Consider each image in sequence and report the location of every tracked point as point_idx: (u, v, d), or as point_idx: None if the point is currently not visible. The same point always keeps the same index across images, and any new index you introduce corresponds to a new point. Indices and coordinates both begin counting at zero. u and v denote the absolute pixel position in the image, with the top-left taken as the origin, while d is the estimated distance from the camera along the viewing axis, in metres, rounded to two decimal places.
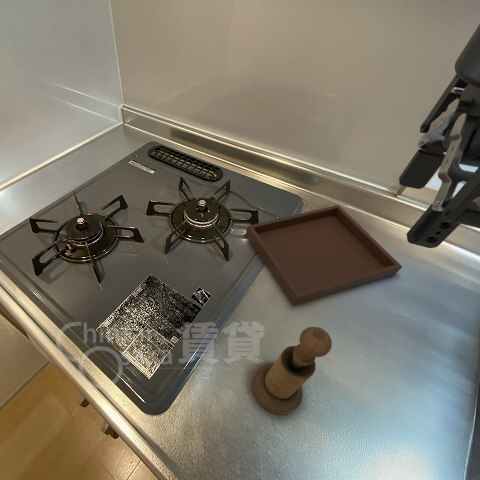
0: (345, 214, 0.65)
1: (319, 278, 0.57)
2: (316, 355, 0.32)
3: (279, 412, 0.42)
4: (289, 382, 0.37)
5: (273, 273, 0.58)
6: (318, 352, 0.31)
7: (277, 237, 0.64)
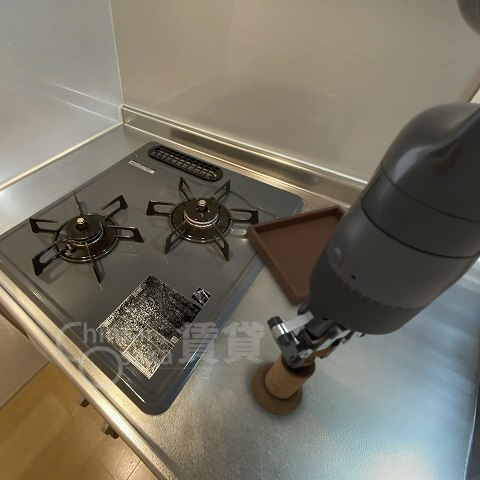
0: None
1: None
2: (316, 355, 0.32)
3: (279, 412, 0.42)
4: (289, 382, 0.37)
5: (273, 273, 0.58)
6: (318, 352, 0.31)
7: (277, 237, 0.64)
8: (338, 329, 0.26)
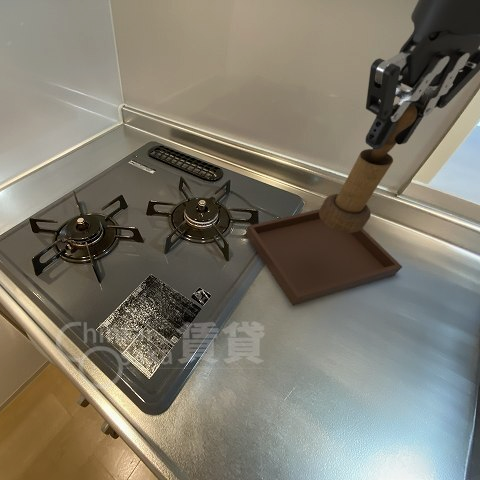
0: None
1: (319, 278, 0.57)
2: (403, 122, 0.36)
3: (351, 225, 0.46)
4: (368, 178, 0.41)
5: (273, 273, 0.58)
6: (406, 117, 0.35)
7: (277, 237, 0.64)
8: (438, 58, 0.30)
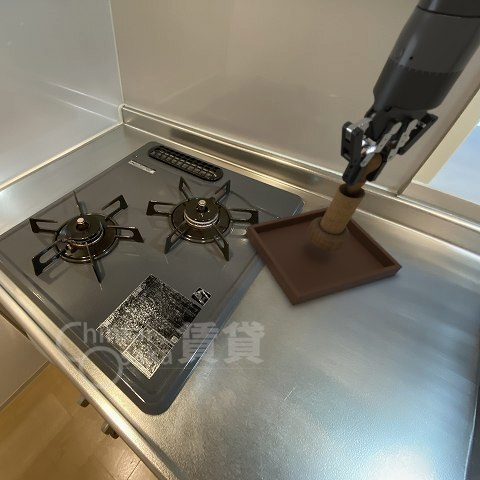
0: None
1: (319, 278, 0.57)
2: (370, 167, 0.45)
3: (332, 245, 0.55)
4: (345, 207, 0.50)
5: (273, 273, 0.58)
6: (372, 163, 0.44)
7: (277, 237, 0.64)
8: (393, 123, 0.39)
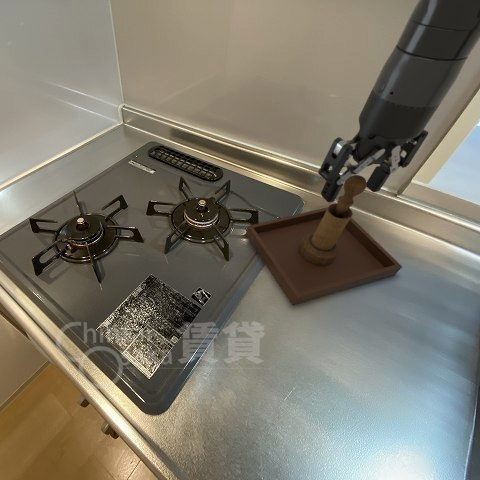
0: None
1: (319, 278, 0.57)
2: (356, 191, 0.48)
3: (323, 260, 0.58)
4: (333, 226, 0.53)
5: (273, 273, 0.58)
6: (358, 187, 0.47)
7: (277, 237, 0.64)
8: (377, 149, 0.42)
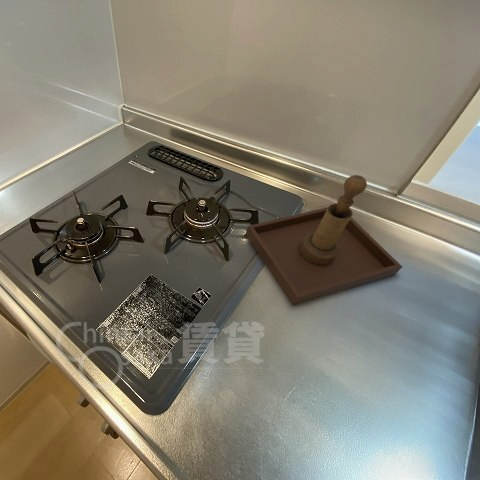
0: None
1: (319, 278, 0.57)
2: (356, 191, 0.48)
3: (323, 260, 0.58)
4: (333, 226, 0.53)
5: (273, 273, 0.58)
6: (358, 187, 0.47)
7: (277, 237, 0.64)
8: None
